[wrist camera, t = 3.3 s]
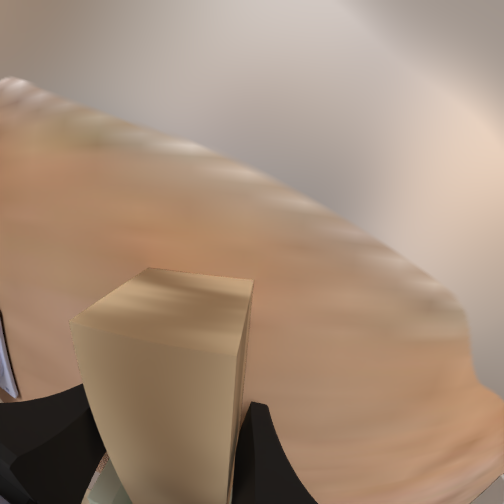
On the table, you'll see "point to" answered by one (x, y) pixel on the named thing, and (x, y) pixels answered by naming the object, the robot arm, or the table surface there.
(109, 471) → the block
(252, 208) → the table surface
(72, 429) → the robot arm
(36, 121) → the table surface
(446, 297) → the table surface
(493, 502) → the gray rectangular frame
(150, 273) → the peg
